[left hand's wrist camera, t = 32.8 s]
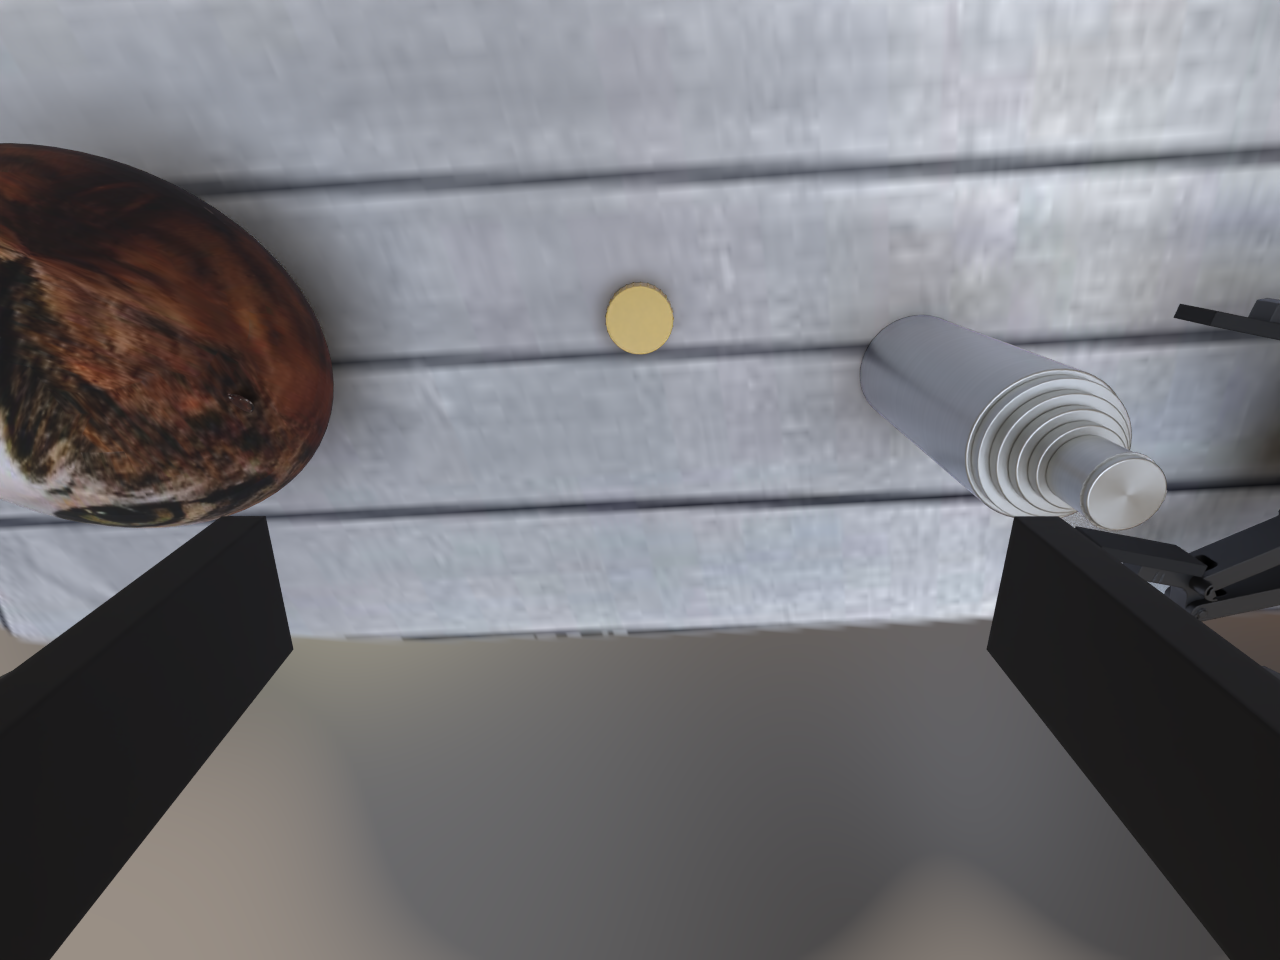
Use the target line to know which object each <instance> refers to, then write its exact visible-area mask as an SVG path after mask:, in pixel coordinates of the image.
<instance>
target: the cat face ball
mask: <svg viewBox="0 0 1280 960" xmlns="http://www.w3.org/2000/svg"><path fill="white" fill-rule="evenodd" d="M332 404H333V373H332V364H331V359H330V355H329V350H328V346H327V344H326V341H325V338H324V335H323V332H322V330H321V327H320V325H319V323H318V321H317V318H316V316H315V314H314V312H313V310H312V308H311V307H310V305H309V303H308V302H307V300H306V298H305V297H304V295H303V294H302V292H301V291H300V289H299V288H298V286H297V285H296V284H295V282H294V281H293V280H292V278H291V277H290V276H289V274H288V273H287V272H286V271H285V269H284V268H283V267H282V266H281V265H280V264H279V263H278V261H277V260H276V259H275V258H274V257H273V256H272V255H271V254H270V253H269V252H268V251H267V250H266V249H265V248H264V247H263V246H262V245H261V244H260V243H259V242H258V241H256V240H255V239H254V238H253V237H252V236H251V235H250V234H248V233H247V232H246V231H245V230H244V229H242V228H241V227H240V226H239V225H238V224H236V223H235V222H233V221H232V220H231V219H229V218H228V217H226V216H225V215H224V214H222V213H221V212H219V211H218V210H217V209H215V208H214V207H212V206H211V205H209V204H207V203H206V202H204V201H203V200H201V199H199V198H198V197H196V196H194V195H192V194H191V193H189V192H187V191H185V190H183V189H181V188H179V187H177V186H176V185H173V184H171V183H169V182H167V181H165V180H163V179H160V178H158V177H156V176H154V175H152V174H149V173H147V172H144V171H142V170H139V169H137V168H134V167H131V166H129V165H126V164H123V163H120V162H117V161H113V160H110V159H107V158H103V157H99V156H95V155H91V154H87V153H83V152H79V151H73V150H68V149H63V148H57V147H50V146H42V145H33V144H15V143H0V499H3V500H5V501H8V502H10V503H13V504H16V505H19V506H22V507H25V508H27V509H30V510H34V511H37V512H40V513H44V514H48V515H51V516H55V517H59V518H62V519H67V520H72V521H77V522H82V523H87V524H95V525H103V526H111V527H128V528H166V527H175V526H185V525H191V524H197V523H202V522H207V521H211V520H215V519H218V518H220V517H221V516H229V515H231V514H234V513H237V512H239V511H242V510H245V509H247V508H249V507H251V506H253V505H255V504H257V503H259V502H261V501H263V500H265V499H266V498H268V497H270V496H271V495H273V494H274V493H276V492H278V491H279V490H280V489H281V488H283V487H284V486H285V485H287V484H288V483H289V482H290V481H291V480H292V479H293V478H294V477H296V476H297V475H298V474H299V473H300V472H301V471H302V469H303V468H304V467H305V466H306V464H307V463H308V462H309V461H310V459H311V458H312V457H313V455H314V453H315V452H316V450H317V448H318V447H319V445H320V443H321V441H322V438H323V436H324V434H325V431H326V429H327V426H328V422H329V419H330V415H331V410H332Z"/></svg>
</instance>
